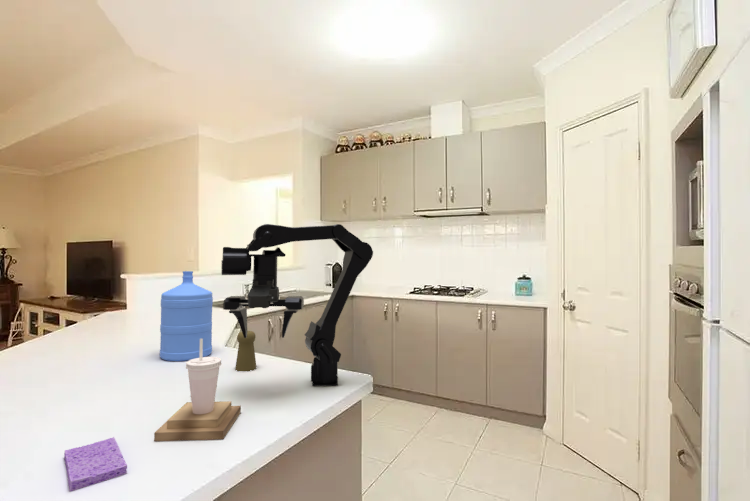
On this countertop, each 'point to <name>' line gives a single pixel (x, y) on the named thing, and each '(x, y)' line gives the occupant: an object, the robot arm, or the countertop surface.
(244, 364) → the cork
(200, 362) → the smoothie
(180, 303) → the water jug
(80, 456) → the sponges
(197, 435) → the walnut base
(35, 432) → the countertop surface
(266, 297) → the robot arm
